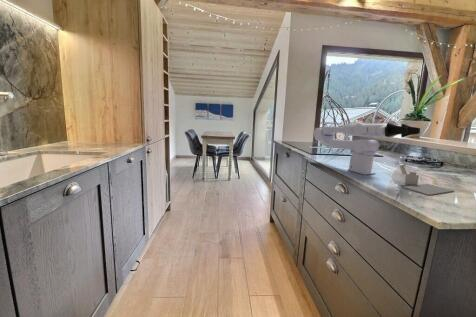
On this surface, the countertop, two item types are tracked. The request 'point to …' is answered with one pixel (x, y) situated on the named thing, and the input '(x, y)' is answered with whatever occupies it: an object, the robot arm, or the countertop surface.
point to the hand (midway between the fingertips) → (413, 130)
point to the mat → (428, 189)
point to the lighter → (409, 176)
